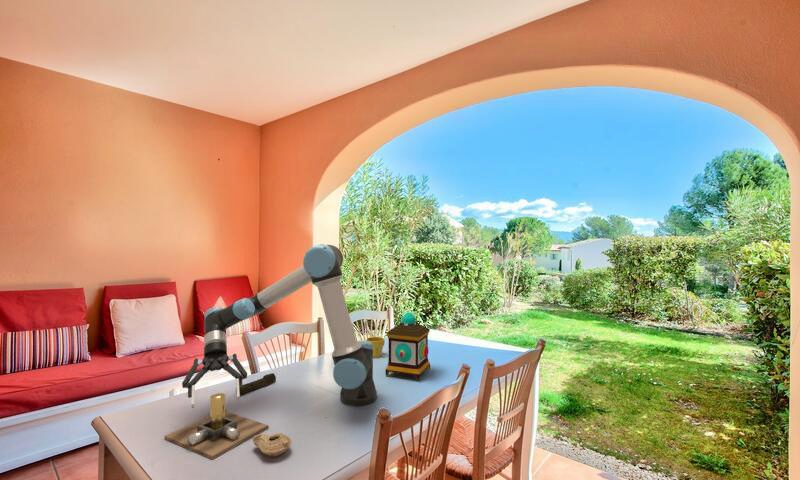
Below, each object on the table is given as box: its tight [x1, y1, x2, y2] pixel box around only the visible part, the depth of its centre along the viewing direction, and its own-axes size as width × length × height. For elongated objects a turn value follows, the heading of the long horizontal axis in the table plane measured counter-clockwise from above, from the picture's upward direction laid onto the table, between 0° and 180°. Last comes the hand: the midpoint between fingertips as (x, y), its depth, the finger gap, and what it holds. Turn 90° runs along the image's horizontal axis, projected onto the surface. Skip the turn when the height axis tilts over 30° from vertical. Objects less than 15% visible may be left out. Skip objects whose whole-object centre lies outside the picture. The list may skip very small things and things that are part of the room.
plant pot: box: [365, 336, 385, 359], centre depth 209 cm, size 10×10×10 cm
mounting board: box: [164, 410, 270, 460], centre depth 123 cm, size 24×21×1 cm
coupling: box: [209, 392, 226, 430], centre depth 122 cm, size 4×4×12 cm
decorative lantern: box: [385, 312, 431, 382], centre depth 182 cm, size 20×20×30 cm
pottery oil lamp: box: [252, 432, 292, 457], centre depth 113 cm, size 9×12×7 cm
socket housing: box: [187, 417, 240, 446], centre depth 118 cm, size 13×13×3 cm
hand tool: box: [235, 372, 277, 397], centre depth 162 cm, size 19×4×5 cm, turn 144°
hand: (216, 402), depth 124 cm, fingers open, 13 cm apart
